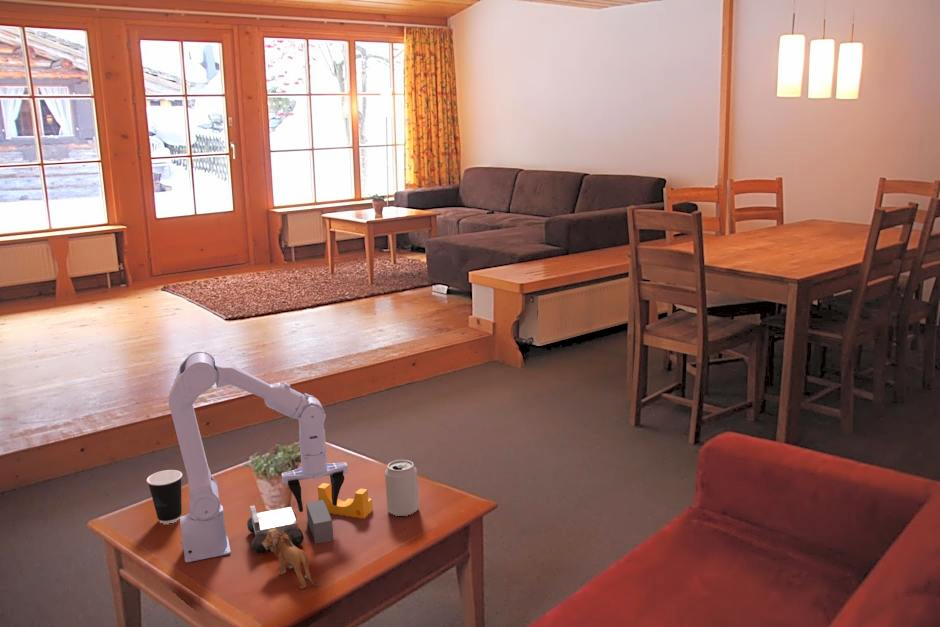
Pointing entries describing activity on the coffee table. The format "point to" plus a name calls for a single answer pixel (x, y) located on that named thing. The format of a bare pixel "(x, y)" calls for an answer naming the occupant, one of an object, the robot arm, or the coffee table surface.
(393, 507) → the can
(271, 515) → the trolley
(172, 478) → the dixie cup
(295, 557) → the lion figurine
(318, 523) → the block
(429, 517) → the coffee table surface
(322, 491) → the pipe clamp
